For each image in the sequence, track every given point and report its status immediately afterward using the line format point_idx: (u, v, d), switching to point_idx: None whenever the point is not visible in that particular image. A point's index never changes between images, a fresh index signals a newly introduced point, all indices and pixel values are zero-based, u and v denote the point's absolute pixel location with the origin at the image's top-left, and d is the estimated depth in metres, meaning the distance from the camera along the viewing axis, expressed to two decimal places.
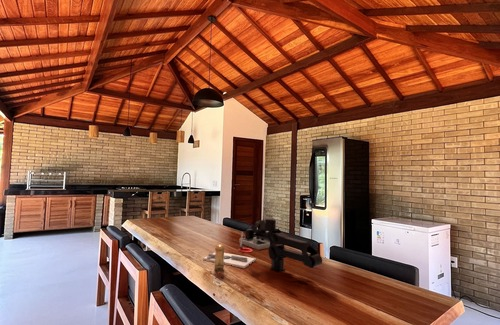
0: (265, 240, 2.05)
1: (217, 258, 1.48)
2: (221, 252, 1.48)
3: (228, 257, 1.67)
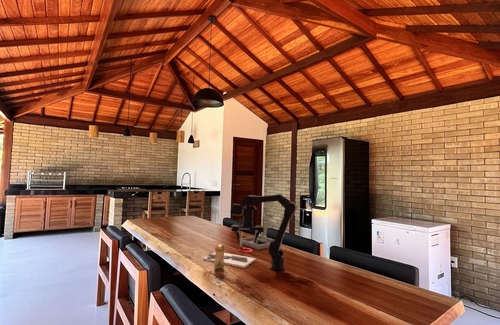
0: (265, 240, 2.05)
1: (217, 258, 1.48)
2: (221, 252, 1.48)
3: (228, 257, 1.67)
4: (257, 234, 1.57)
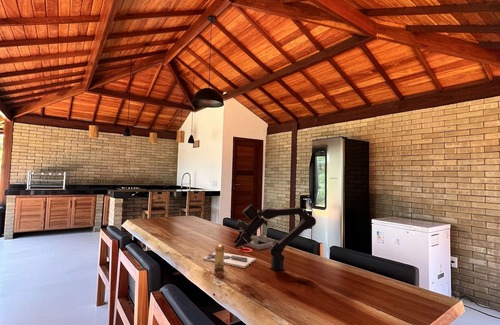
0: (266, 240, 2.06)
1: (217, 258, 1.48)
2: (221, 252, 1.48)
3: (228, 257, 1.67)
4: None
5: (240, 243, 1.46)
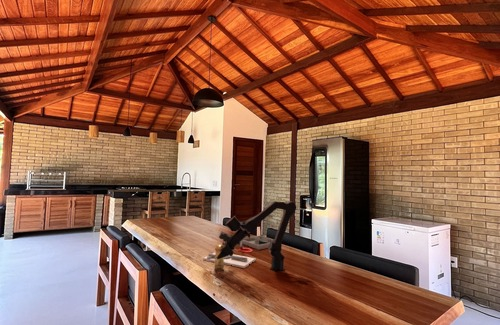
0: (267, 240, 2.06)
1: None
2: None
3: (228, 257, 1.67)
4: None
5: (222, 255, 1.46)
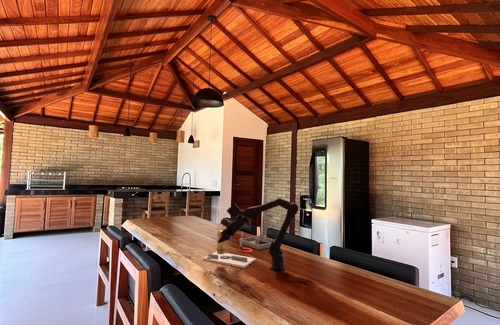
0: (267, 240, 2.06)
1: None
2: None
3: (228, 257, 1.67)
4: None
5: (222, 239, 1.55)
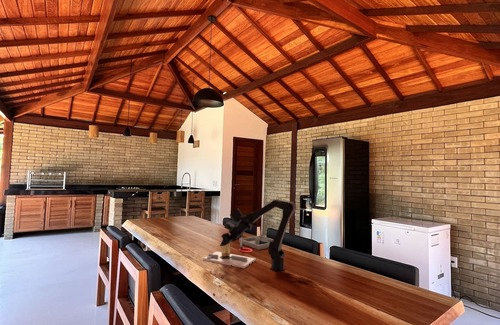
0: (267, 240, 2.06)
1: (223, 246, 1.66)
2: None
3: None
4: None
5: (223, 243, 1.62)
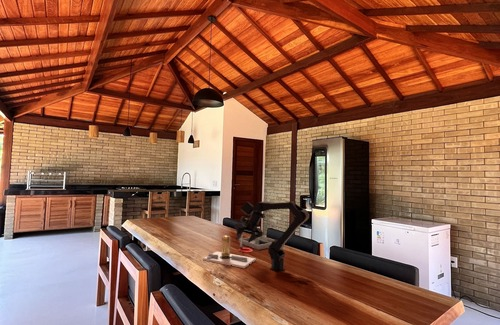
0: (267, 240, 2.06)
1: (222, 247, 1.66)
2: (225, 242, 1.65)
3: None
4: (256, 237, 1.64)
5: (237, 235, 1.60)
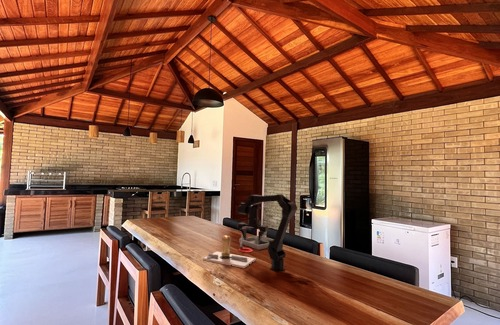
0: (267, 240, 2.06)
1: (222, 247, 1.66)
2: (225, 242, 1.65)
3: None
4: (259, 233, 1.60)
5: None
